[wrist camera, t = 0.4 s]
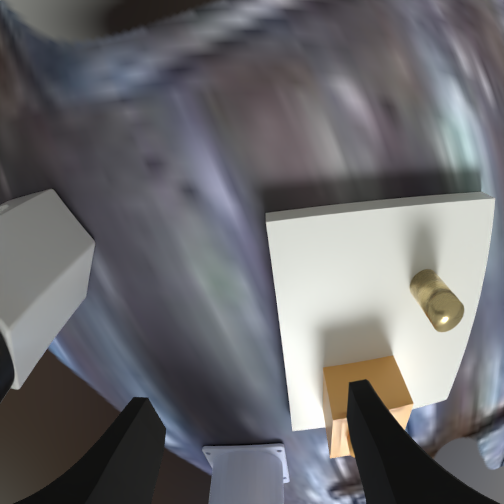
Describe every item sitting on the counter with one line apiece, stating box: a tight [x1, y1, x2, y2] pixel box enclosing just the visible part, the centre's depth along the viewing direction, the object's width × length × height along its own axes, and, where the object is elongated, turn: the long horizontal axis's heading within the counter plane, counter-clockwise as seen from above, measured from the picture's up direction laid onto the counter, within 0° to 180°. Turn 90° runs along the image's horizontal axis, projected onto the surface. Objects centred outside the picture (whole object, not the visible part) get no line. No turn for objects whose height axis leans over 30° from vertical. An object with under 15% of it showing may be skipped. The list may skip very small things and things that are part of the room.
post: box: [410, 269, 464, 332], centre depth 16 cm, size 2×2×4 cm
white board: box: [265, 192, 495, 431], centre depth 20 cm, size 18×14×2 cm
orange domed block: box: [323, 355, 414, 458], centre depth 18 cm, size 5×5×6 cm
